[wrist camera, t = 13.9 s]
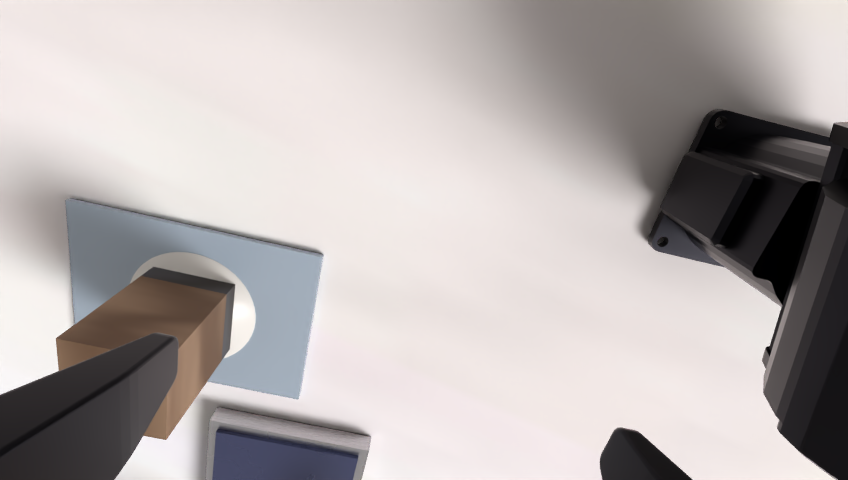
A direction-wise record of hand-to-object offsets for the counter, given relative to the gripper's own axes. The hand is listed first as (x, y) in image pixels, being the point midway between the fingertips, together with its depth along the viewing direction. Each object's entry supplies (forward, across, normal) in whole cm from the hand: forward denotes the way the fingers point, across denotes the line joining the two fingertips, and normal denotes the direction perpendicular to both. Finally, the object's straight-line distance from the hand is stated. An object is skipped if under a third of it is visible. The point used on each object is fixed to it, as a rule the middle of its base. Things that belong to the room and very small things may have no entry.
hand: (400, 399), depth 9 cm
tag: (+12, +10, +8) cm, 18 cm away
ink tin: (+12, +4, +18) cm, 22 cm away
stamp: (+12, +10, +8) cm, 18 cm away
